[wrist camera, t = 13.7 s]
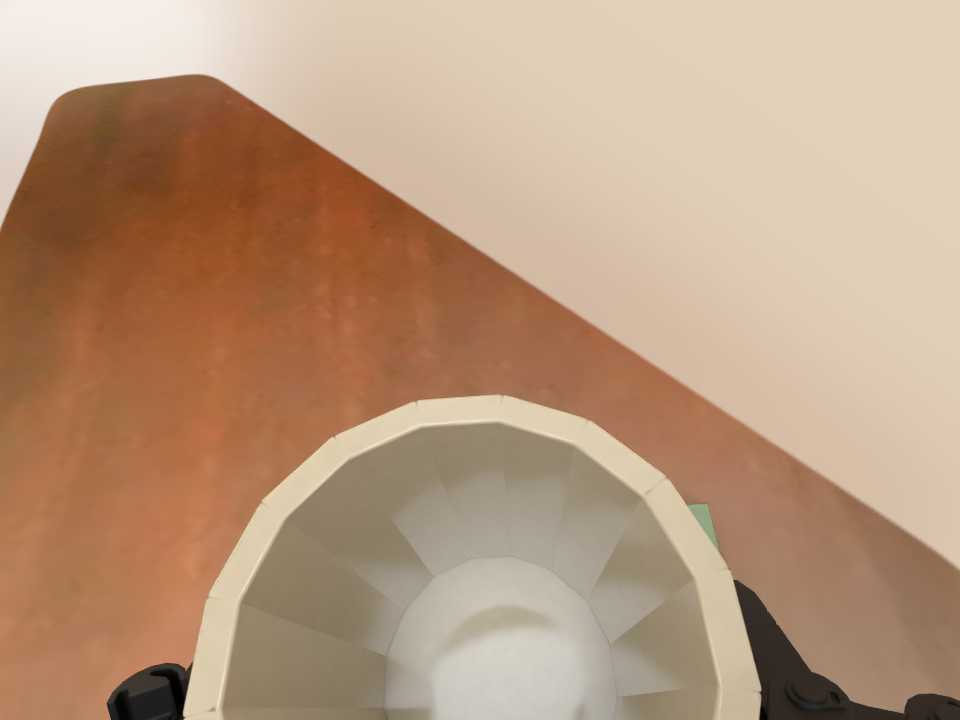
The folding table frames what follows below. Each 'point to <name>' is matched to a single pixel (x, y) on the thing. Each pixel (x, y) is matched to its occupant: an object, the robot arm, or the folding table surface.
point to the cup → (474, 582)
